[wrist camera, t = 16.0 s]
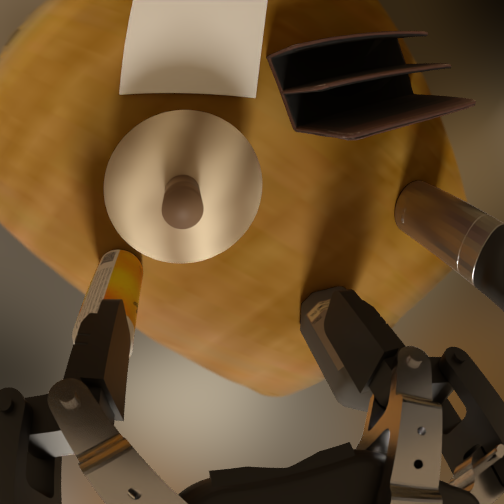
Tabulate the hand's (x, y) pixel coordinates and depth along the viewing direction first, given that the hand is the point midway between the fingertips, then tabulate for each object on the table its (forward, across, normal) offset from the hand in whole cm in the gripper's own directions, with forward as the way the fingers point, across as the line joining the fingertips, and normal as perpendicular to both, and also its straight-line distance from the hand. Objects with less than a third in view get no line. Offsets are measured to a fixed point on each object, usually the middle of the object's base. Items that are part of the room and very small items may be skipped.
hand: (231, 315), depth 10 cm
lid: (+18, +2, 0) cm, 19 cm away
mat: (+24, +2, -17) cm, 30 cm away
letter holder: (+25, -17, -14) cm, 34 cm away
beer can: (+25, +10, +12) cm, 29 cm away
